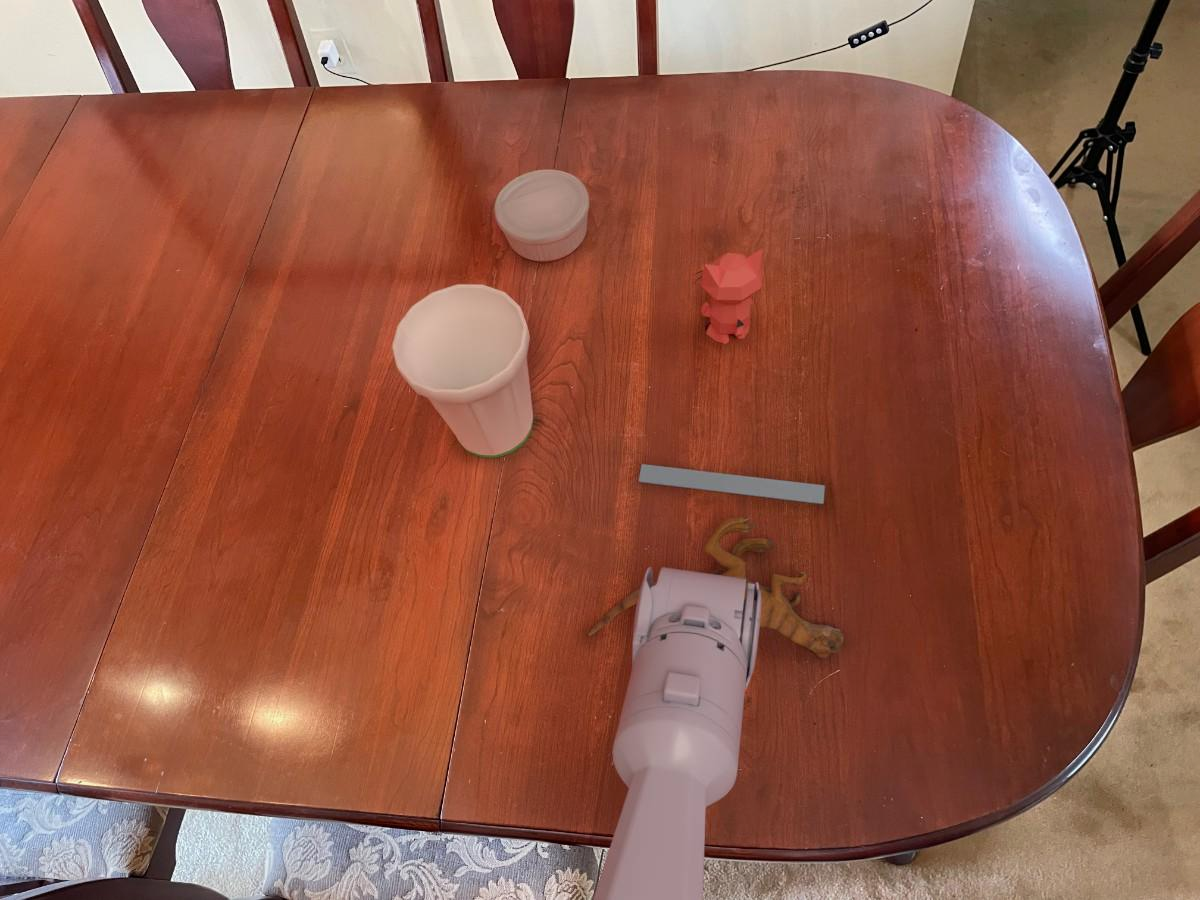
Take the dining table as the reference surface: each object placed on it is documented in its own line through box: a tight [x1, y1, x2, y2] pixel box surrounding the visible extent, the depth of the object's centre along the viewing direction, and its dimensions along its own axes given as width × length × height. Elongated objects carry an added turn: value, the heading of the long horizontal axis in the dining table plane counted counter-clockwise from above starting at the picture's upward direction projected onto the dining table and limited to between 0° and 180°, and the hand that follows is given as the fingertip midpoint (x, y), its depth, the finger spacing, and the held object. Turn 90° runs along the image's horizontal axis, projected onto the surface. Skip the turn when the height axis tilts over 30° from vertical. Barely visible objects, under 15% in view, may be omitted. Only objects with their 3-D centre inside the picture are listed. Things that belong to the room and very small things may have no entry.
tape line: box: [637, 463, 826, 505], centre depth 83 cm, size 2×18×1 cm, turn 79°
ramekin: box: [493, 169, 590, 262], centre depth 100 cm, size 11×11×5 cm
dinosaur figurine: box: [586, 516, 845, 659], centre depth 75 cm, size 7×22×12 cm
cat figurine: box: [692, 247, 764, 345], centre depth 87 cm, size 7×7×12 cm
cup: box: [391, 283, 535, 459], centre depth 83 cm, size 12×12×15 cm
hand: (698, 718), depth 66 cm, fingers closed
